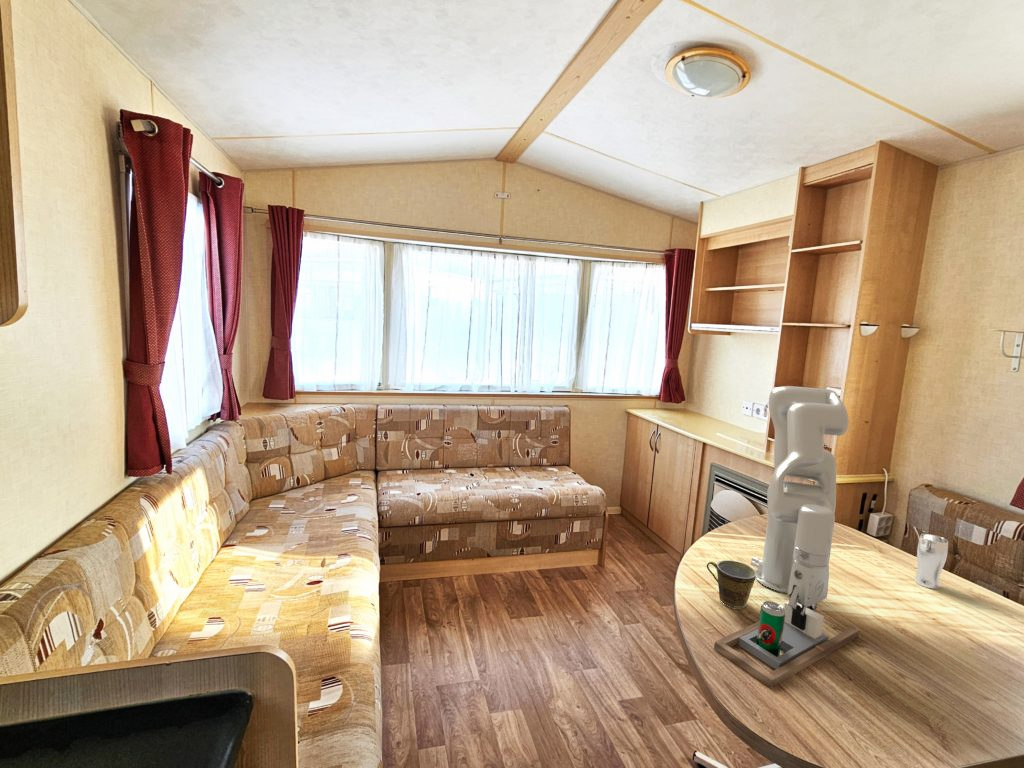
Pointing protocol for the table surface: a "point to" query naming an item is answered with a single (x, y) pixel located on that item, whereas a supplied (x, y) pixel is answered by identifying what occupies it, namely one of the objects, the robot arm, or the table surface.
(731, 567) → the ceramic cup
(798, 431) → the robot arm
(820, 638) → the grey board with block
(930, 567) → the beer glass
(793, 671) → the track
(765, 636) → the soda can
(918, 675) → the table surface
